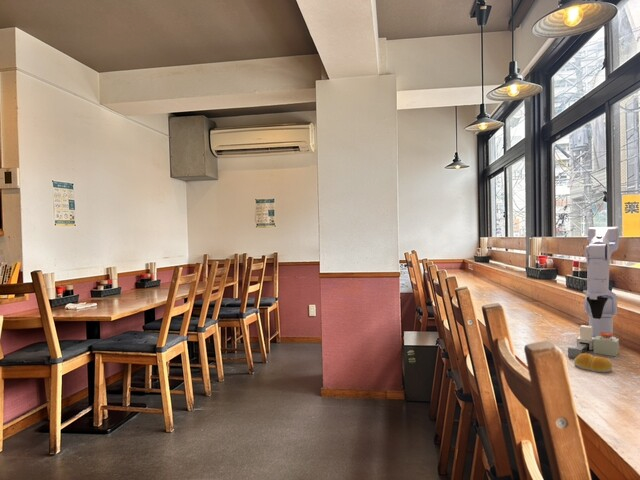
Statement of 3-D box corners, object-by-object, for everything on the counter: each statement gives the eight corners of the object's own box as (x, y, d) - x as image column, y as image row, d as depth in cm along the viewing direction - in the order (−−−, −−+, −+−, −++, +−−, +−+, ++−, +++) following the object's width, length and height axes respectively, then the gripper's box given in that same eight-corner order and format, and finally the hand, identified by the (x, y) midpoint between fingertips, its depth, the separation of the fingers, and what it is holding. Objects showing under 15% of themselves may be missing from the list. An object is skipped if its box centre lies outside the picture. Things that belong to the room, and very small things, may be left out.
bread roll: (608, 375, 110) (608, 361, 110) (571, 367, 117) (571, 353, 117) (616, 369, 115) (616, 355, 115) (580, 362, 122) (580, 348, 122)
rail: (583, 343, 144) (583, 334, 144) (595, 345, 141) (596, 336, 141) (567, 357, 126) (568, 347, 126) (581, 359, 124) (581, 349, 124)
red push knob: (600, 347, 134) (600, 331, 134) (613, 349, 132) (613, 333, 132) (599, 349, 132) (599, 333, 132) (611, 351, 130) (611, 334, 130)
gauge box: (596, 349, 136) (596, 335, 136) (618, 352, 132) (618, 338, 132) (593, 352, 132) (593, 338, 132) (616, 356, 128) (616, 342, 128)
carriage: (580, 344, 142) (580, 324, 142) (595, 346, 139) (595, 326, 139) (576, 347, 137) (576, 326, 137) (592, 350, 134) (592, 328, 134)
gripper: (587, 276, 147) (587, 314, 147) (579, 279, 136) (578, 319, 136) (611, 278, 142) (611, 316, 142) (604, 280, 131) (604, 322, 131)
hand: (596, 318), depth 139 cm, fingers closed
